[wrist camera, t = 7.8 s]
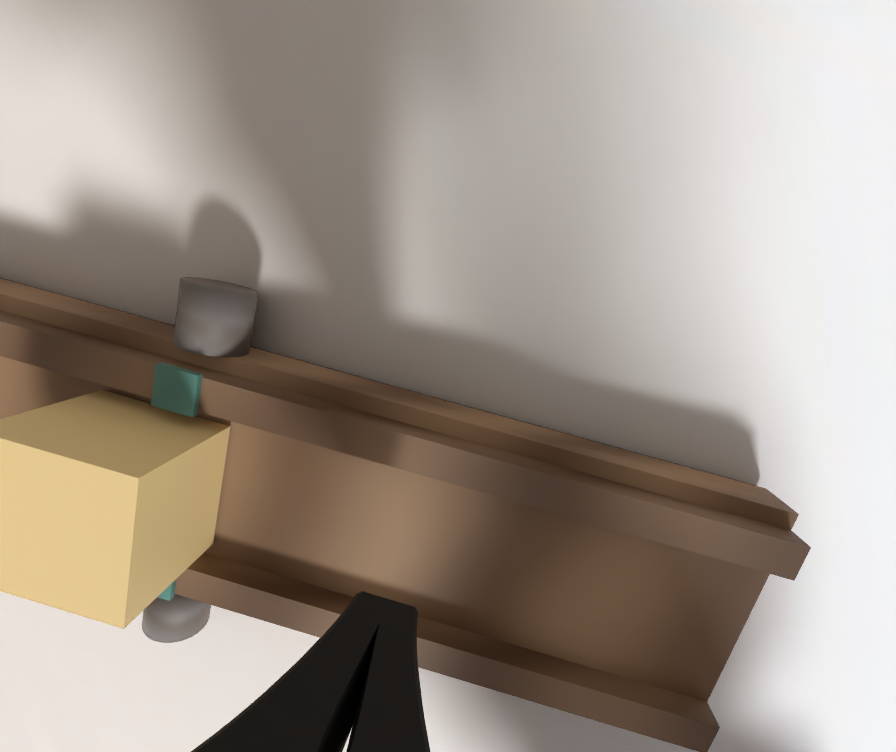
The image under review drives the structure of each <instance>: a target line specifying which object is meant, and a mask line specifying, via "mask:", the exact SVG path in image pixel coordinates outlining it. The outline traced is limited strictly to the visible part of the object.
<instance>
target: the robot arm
mask: <svg viewBox="0 0 896 752" xmlns="http://www.w3.org/2000/svg"><path fill="white" fill-rule="evenodd" d="M417 619H418V611H417V610H416V608H415V607H414V606H410V605H407V604H404V603H400V602H397V601H394V600H390V599H387V598H384V597H380V596H377V595H373V594H370V593H367V592H363V591H361V592H359V593H357V594H356V595H355V597H354V598H353V599H352V601H351V602H350V604H349V605H348V606H347V608H346V609H345V610H344V611H343V613H342V614H341V615H340V616H339V618H338V619H337V620H336V621H335V622H334V623H333V624H332V626H331V627H330V628H329V629H328V630H327V631H326V632H325V634H324V635H323V636H322V637H321V638H320V639H319V640H318V641H317V642H316V643H315V644H314V645H313V646H312V647H311V648H310V649H309V650H308V651H307V652H306V653H305V654H304V656H303V657H302V658H301V659H300V660H299V661H298V662H297V663H296V664H295V665H294V666H292V667H291V668H290V669H289V670H288V671H287V672H286V673H285V674H284V675H283V676H282V677H281V678H280V679H278V680H277V681H276V682H275V683H274V684H273V685H272V686H271V687H270V688H269V689H268V690H267V691H266V692H265V693H263V694H262V695H261V696H260V697H259V698H258V699H257V700H255V701H254V702H253V703H252V704H251V705H250V706H248V707H247V708H246V709H245V710H244V711H242V712H241V713H240V714H239V715H238V716H236V717H235V718H234V719H233V720H232V721H230V722H229V723H228V724H227V725H225V726H224V727H223V728H222V729H220V730H219V731H218V732H217V733H215V734H214V735H213V736H211V737H210V738H209V739H207V740H206V741H205V742H203V743H202V744H201V745H199V746H198V747H197V748H195V749H194V750H193V751H191V752H342V751H343V748H344V746H345V743H346V741H347V738H348V736H349V733H350V731H351V728H352V731H351V735H350V739H349V744H348V748H347V752H430V748H429V742H428V736H427V731H426V725H425V719H424V712H423V706H422V697H421V689H420V681H419V671H418V657H417Z"/></svg>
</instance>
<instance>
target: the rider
mask: <svg viewBox="0 0 896 752" xmlns="http://www.w3.org/2000/svg"><path fill="white" fill-rule="evenodd" d="M229 433H230V426H228V425H224V424H221V423H217V422H214V421H210V420H207V419H203V418H200V417H196V416H195V417H189V416H186V415H182V414H179V413H175V412H172V411H168V410H165V409H161V408H158V407H154V406H151V404H150V403H147V402H143V401H140V400H136V399H133V398H129V397H126V396H122V395H118V394H115V393H111V392H108V391H104V390H100V391H97V392H93V393H90V394H86V395H83V396H79V397H76V398H72V399H69V400H65V401H62V402H59V403H55V404H52V405H48V406H45V407H41V408H38V409H34V410H31V411H27V412H24V413H21V414H17V415H14V416H10V417H7V418H3V419H0V591H2V592H5V593H8V594H12V595H15V596H18V597H21V598H25V599H28V600H31V601H35V602H38V603H41V604H44V605H48V606H51V607H54V608H57V609H61V610H64V611H67V612H71V613H74V614H77V615H80V616H84V617H87V618H90V619H93V620H97V621H100V622H103V623H106V624H110V625H113V626H116V627H120V628H123V629H124V628H125V627H126V626H127V625H128V624H129V623H130V622H131V621H132V620H134V619H135V618H136V617H137V616H138V615H139V614H140V613H141V612H142V611H143V610H144V609H145V608H146V607H147V606H148V605H149V604H150V603H151V602H152V601H153V600H155V599H156V598H157V597H158V596H159V595H160V594H161V593H162V592H163V591H164V590H165V589H166V588H167V587H168V586H169V585H170V584H171V583H172V582H173V581H175V580H176V579H177V578H178V577H179V576H180V575H181V574H182V573H183V572H184V571H185V570H186V569H187V568H188V567H189V566H190V565H191V564H192V563H193V562H194V561H196V560H197V559H198V558H199V557H200V556H201V555H202V554H203V553H204V552H205V551H206V550H207V549H208V548H209V547H210V546H211V545H212V544H213V541H214V534H215V527H216V521H217V514H218V507H219V500H220V494H221V487H222V480H223V473H224V467H225V460H226V453H227V446H228V439H229Z"/></svg>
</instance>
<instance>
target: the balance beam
mask: <svg viewBox="0 0 896 752" xmlns="http://www.w3.org/2000/svg"><path fill="white" fill-rule="evenodd" d="M257 299H258V292H256V291H254V290H252V289H249V288H246V287H243V286H240V285H236V284H231V283H227V282H222V281H216V280H210V279H203V278H192V277H185V278H181V279H180V286H179V295H178V304H177V313H176V322H175V326H172V325H169V324H165V323H162V322H158V321H154V320H151V319H147V318H143V317H140V316H136V315H132V314H129V313H125V312H122V311H118V310H114V309H111V308H107V307H103V306H100V305H96V304H92V303H89V302H85V301H82V300H78V299H74V298H71V297H67V296H63V295H60V294H56V293H53V292H49V291H45V290H42V289H38V288H34V287H31V286H27V285H23V284H20V283H16V282H13V281H9V280H5V279H2V278H0V419H3V418H7V417H10V416H14V415H17V414H21V413H24V412H27V411H31V410H34V409H38V408H41V407H45V406H48V405H52V404H55V403H59V402H62V401H65V400H69V399H72V398H76V397H79V396H83V395H86V394H90V393H93V392H97V391H100V390H104V391H108V392H111V393H115V394H118V395H122V396H126V397H129V398H133V399H136V400H140V401H143V402H147V403H150V404H151V406H154V407H158V408H161V409H165V410H168V411H172V412H175V413H179V414H182V415H186V416H189V417H195V416H196V417H200V418H203V419H207V420H210V421H214V422H217V423H221V424H224V425H228V426H230V433H229V439H228V446H227V453H226V460H225V467H224V473H223V480H222V487H221V494H220V500H219V507H218V514H217V521H216V527H215V534H214V541H213V544H212V545H211V546H210V547H209V548H208V549H207V550H206V551H205V552H204V553H203V554H202V555H201V556H200V557H199V558H198V559H197V560H196V561H194V562H193V563H192V564H191V565H190V566H189V567H188V568H187V569H186V570H185V571H184V572H183V573H182V574H181V575H180V576H179V577H178V578H177V579H176V580H175V581H173V582H172V583H171V584H170V585H169V586H168V587H167V588H166V589H165V590H164V591H163V592H162V593H161V594H160V595H159V596H158V597H157V598H156V599H155V600H153V601H152V602H151V603H150V604H149V605H148V606H147V607H146V608H145V609H144V611H143V620H142V629H143V632H144V634H145V635H146V636H147V637H148V638H150V639H152V640H154V641H157V642H163V643H171V642H178V641H182V640H185V639H188V638H190V637H192V636H194V635H195V634H197V633H198V632H199V631H200V630H202V629H203V628H204V626H205V625H206V624H207V622H208V619H209V615H210V608H211V605H214V606H217V607H220V608H224V609H227V610H230V611H234V612H237V613H240V614H244V615H247V616H250V617H254V618H257V619H260V620H264V621H267V622H270V623H274V624H277V625H280V626H284V627H287V628H290V629H294V630H297V631H300V632H303V633H307V634H310V635H313V636H317V637H320V638H321V637H322V636H323V635H324V634H325V632H326V631H327V630H328V629H329V628H330V627H331V626H332V624H333V623H334V622H335V621H336V620H337V619H338V618H339V616H340V615H341V614H342V613H343V611H344V610H345V609H346V608H347V606H348V605H349V604H350V602H351V601H352V599H353V598H354V597H355V595H356V594H357V593H359V592H361V591H363V592H367V593H370V594H373V595H377V596H380V597H384V598H387V599H390V600H394V601H397V602H400V603H404V604H407V605H410V606H414V607H415V608H416V610H417V611H418V619H417V657H418V667H420V668H423V669H426V670H430V671H433V672H436V673H440V674H443V675H446V676H450V677H453V678H456V679H460V680H463V681H466V682H470V683H473V684H476V685H480V686H483V687H486V688H490V689H493V690H496V691H500V692H503V693H506V694H510V695H513V696H516V697H520V698H523V699H526V700H529V701H533V702H536V703H539V704H543V705H546V706H549V707H553V708H556V709H559V710H563V711H566V712H569V713H573V714H576V715H579V716H583V717H586V718H589V719H593V720H596V721H599V722H603V723H606V724H609V725H613V726H616V727H619V728H623V729H626V730H629V731H633V732H636V733H639V734H643V735H646V736H649V737H652V738H656V739H659V740H662V741H666V742H669V743H672V744H676V745H679V746H682V747H686V748H689V749H692V750H696V751H699V752H707V751H708V749H709V747H710V746H711V744H712V742H713V740H714V738H715V736H716V734H717V732H718V730H719V728H720V727H719V725H718V723H717V721H716V719H715V717H714V715H713V713H712V711H711V709H710V707H709V705H708V703H707V701H708V698H709V696H710V694H711V692H712V690H713V688H714V686H715V684H716V682H717V680H718V678H719V676H720V674H721V672H722V670H723V668H724V666H725V664H726V662H727V660H728V658H729V656H730V654H731V652H732V649H733V647H734V645H735V643H736V641H737V639H738V637H739V635H740V633H741V631H742V629H743V627H744V625H745V623H746V621H747V619H748V617H749V615H750V613H751V611H752V609H753V607H754V605H755V603H756V601H757V598H758V596H759V594H760V592H761V590H762V588H763V586H764V584H765V582H766V580H767V578H768V576H769V574H773V575H777V576H780V577H784V578H787V579H791V580H795V578H796V576H797V574H798V572H799V570H800V568H801V566H802V564H803V562H804V560H805V558H806V556H807V554H808V552H809V550H810V548H811V547H810V546H809V545H807V544H806V543H805V542H804V541H803V540H802V539H800V538H799V537H798V536H797V535H796V534H795V533H793V532H792V531H791V529H792V527H793V525H794V523H795V521H796V519H797V517H798V515H799V514H798V513H796V512H795V511H794V510H793V509H791V508H790V507H789V506H787V505H786V504H785V503H784V502H782V501H781V500H780V499H779V498H777V497H776V496H775V495H773V494H772V493H771V492H770V491H768V490H767V489H765V488H761V487H758V486H754V485H750V484H747V483H743V482H739V481H736V480H732V479H729V478H725V477H721V476H718V475H714V474H710V473H707V472H703V471H700V470H696V469H692V468H689V467H685V466H681V465H678V464H674V463H670V462H667V461H663V460H660V459H656V458H652V457H649V456H645V455H641V454H638V453H634V452H630V451H627V450H623V449H620V448H616V447H612V446H609V445H605V444H601V443H598V442H594V441H590V440H587V439H583V438H580V437H576V436H572V435H569V434H565V433H561V432H558V431H554V430H550V429H547V428H543V427H540V426H536V425H532V424H529V423H525V422H521V421H518V420H514V419H510V418H507V417H503V416H500V415H496V414H492V413H489V412H485V411H481V410H478V409H474V408H471V407H467V406H463V405H460V404H456V403H452V402H449V401H445V400H441V399H438V398H434V397H431V396H427V395H423V394H420V393H416V392H412V391H409V390H405V389H401V388H398V387H394V386H391V385H387V384H383V383H380V382H376V381H372V380H369V379H365V378H361V377H358V376H354V375H351V374H347V373H343V372H340V371H336V370H332V369H329V368H325V367H321V366H318V365H314V364H311V363H307V362H303V361H300V360H296V359H292V358H289V357H285V356H281V355H278V354H274V353H271V352H267V351H263V350H260V349H256V348H252V347H250V345H251V339H252V332H253V325H254V319H255V312H256V306H257Z"/></svg>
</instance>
